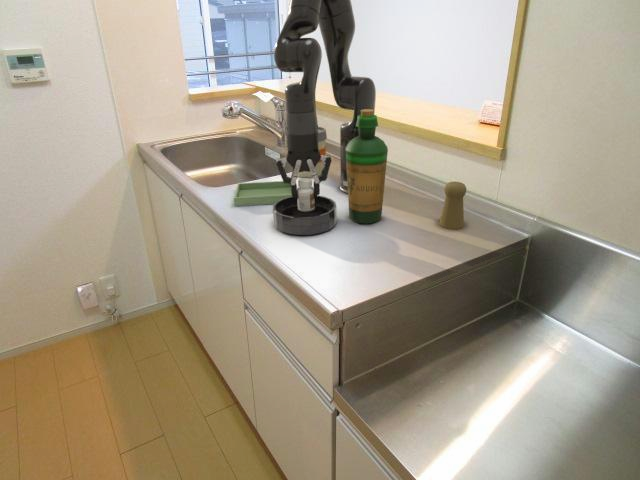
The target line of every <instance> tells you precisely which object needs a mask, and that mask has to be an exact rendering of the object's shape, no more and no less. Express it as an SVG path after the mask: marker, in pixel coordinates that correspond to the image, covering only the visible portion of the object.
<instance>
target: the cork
mask: <svg viewBox="0 0 640 480" xmlns="http://www.w3.org/2000/svg"><path fill="white" fill-rule="evenodd" d="M466 194H467V186H466V184H465V183H463V182H460V181H449V182H447V183H446V184H445V186H444V195H445V197H444V201H443V206H442V210H441V213H440V214H441V215H440V219H439V226H440V227H442V228H444V229H448V230H459V229H462V228H464V226H465V218H464V215H465V214H464V213H465V211H464V196H466Z"/></svg>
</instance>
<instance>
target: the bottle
mask: <svg viewBox="0 0 640 480" xmlns="http://www.w3.org/2000/svg"><path fill="white" fill-rule="evenodd" d="M373 114H374V115H373ZM356 126H357V127H358V131H359V136H357V137H355V138H354V139H352V140H351V141H350V142H349V143H348V145H347V146H346V167H347V185H348V193H347V202H348V217H349V220H351V221H353V222H354V223H358V224H368V225H369V224H373V223H376V222H378V221H380V220H381V219H382V216H383V215H382V214H383V204H384V193H385V184H386V183H385V182H386V174H387V162H388V152H389V149H388V148H389V147H388V145H387V144H386V143H385V141H384V140H383V139H382V138H380V137H379V136H376V128H377V127H379V122H378V116H377V114H375V113H374V110H372V109H364V110H361V115H358V117H357V122H356Z"/></svg>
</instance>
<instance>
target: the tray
mask: <svg viewBox="0 0 640 480" xmlns="http://www.w3.org/2000/svg"><path fill="white" fill-rule="evenodd" d="M291 196H292V193H291V185H290V184H289V183H284V182H283V180H279V181H258V182H240V183H239V182H238V183H237V184H236V189H235V193H234V196H233V201H234V207H244V206H246V207H247V206H261V205H263V206H264V205H274V204H275V203H276V202H277V201H279V200H281V199H284V198H287V197H291Z"/></svg>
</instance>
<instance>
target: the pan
mask: <svg viewBox="0 0 640 480" xmlns="http://www.w3.org/2000/svg"><path fill="white" fill-rule="evenodd" d="M314 199H315V209H314V210H312V211H308V212H303V211H300V210H299V209H298V201H297V199H295V197H292V196H291V197H287V198H284V199H281V200H279V201H277V202H276V203H275V204H272V214H273V216H272V217H273V226H274V227H275V229H276V230H278V231H280V232H282V233H284V234H289V235H298V236H309V235H317V234H321V233H324V232H328V231H329V230H331V229H332V228H334V227H335V226H336V224H337V222H338V221H337V220H338V219H337V217H338V215H337V214H338V213H337V211H338V210H337V204H336V201H334V200H333V199H332V198H330V197H327V196H323V195H317V197H314Z"/></svg>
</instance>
